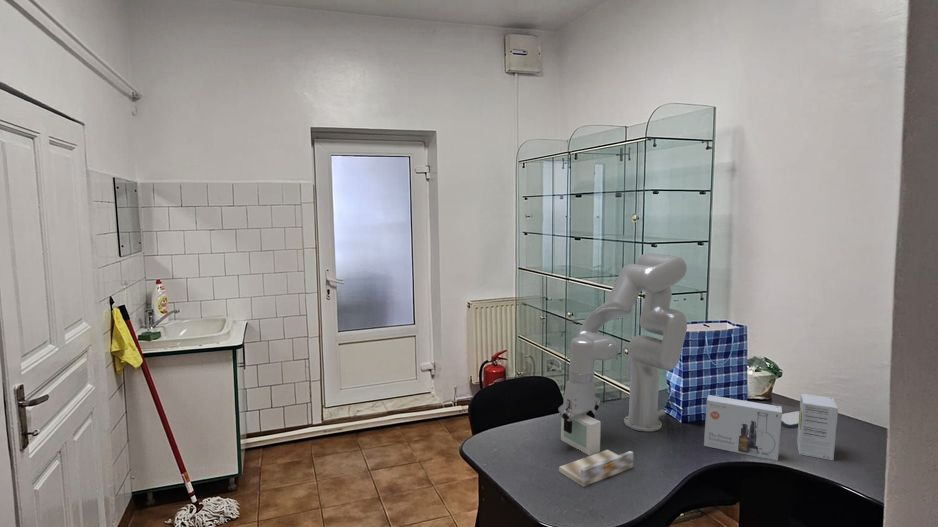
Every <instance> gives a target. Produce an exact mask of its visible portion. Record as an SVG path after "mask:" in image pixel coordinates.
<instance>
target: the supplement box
mask: <svg viewBox="0 0 938 527" xmlns="http://www.w3.org/2000/svg"><path fill="white" fill-rule="evenodd" d="M799 401H800V402H799V410H798V411H799V424H798V427H797V438H796V444H797V449H798V454H799V455H801V456H807V457H813V458H818V459H822V460H823V459H824V460H829V461H834V460H835V458H834V457H835V448H836V447H835V446H836V434H837V432H836V431H837V425H838V418H839V417H838V413H839V407H838V405H837V403H836V401H835V398H834V397H829V396H822V395H815V394H807V393H800V400H799Z"/></svg>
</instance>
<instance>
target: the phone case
mask: <svg viewBox="0 0 938 527" xmlns="http://www.w3.org/2000/svg"><path fill="white" fill-rule="evenodd" d="M799 411H800V410H797V411H790V412H783V413H782V420H781V427H783V428H785V429H795V428H798V424H799Z"/></svg>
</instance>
